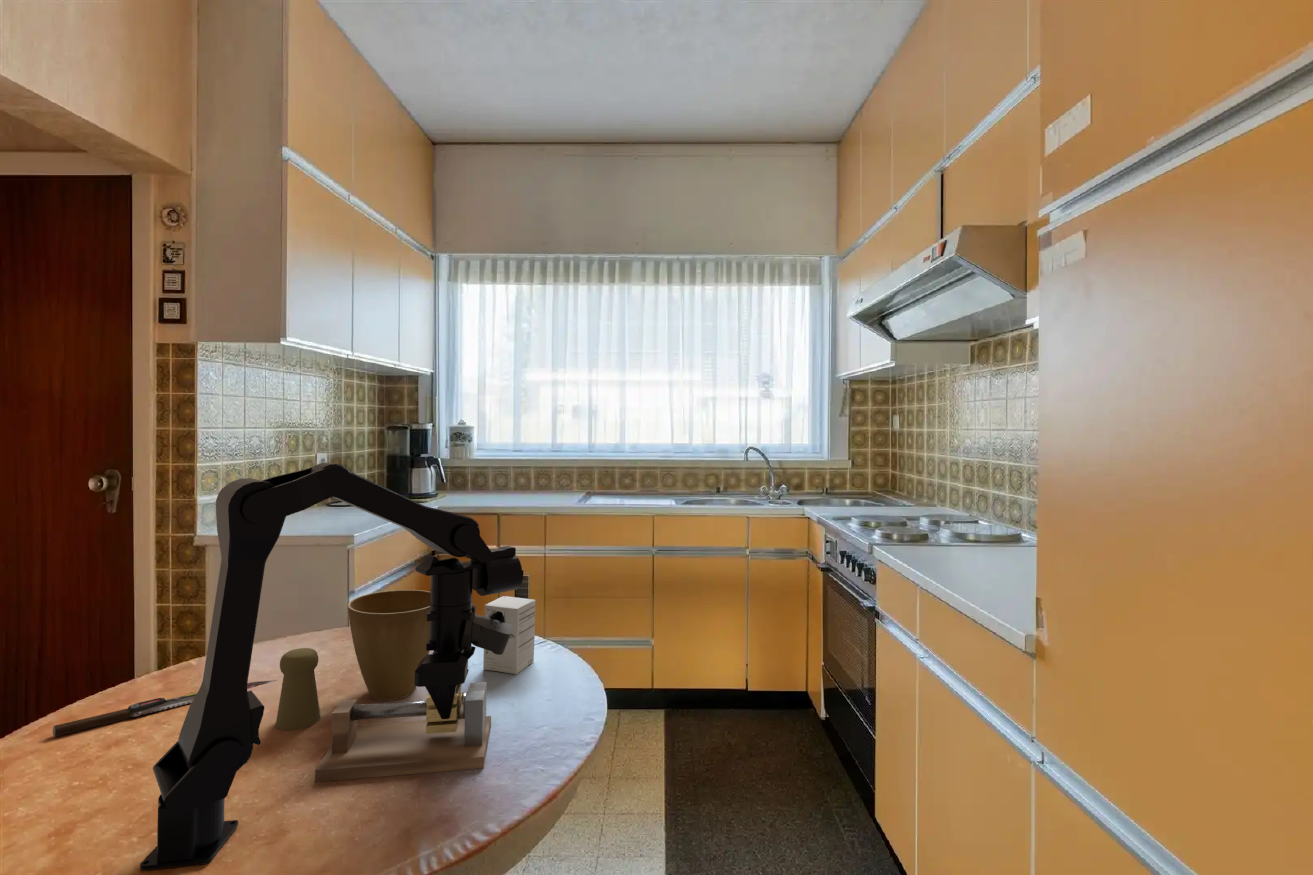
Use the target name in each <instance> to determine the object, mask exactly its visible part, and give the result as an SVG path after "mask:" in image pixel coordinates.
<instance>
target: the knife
mask: <svg viewBox="0 0 1313 875" xmlns="http://www.w3.org/2000/svg"><path fill="white" fill-rule="evenodd" d="M277 681H278V679H276V680H275V679H274V680H273V679H272V680H261V681H253V682H251V681H250V682H247V690H249V689H253V688H257V687H259V685H260V686H263V685H266V684H271V683H273V682H277ZM196 694H197V692H195V693H191V694H186V695H182V696H178V697H173V698H168V699H166V698H165V697H157V698H153V699H149V700H143V701H140V702H137V703H134V704H131V705H129V706H128V707H127V708H124V709H119V710H115V711H112V712H106V713H102V714H98V715H95V716H91V717H85V718H81V719H77V720H73V721H69V722H64V723H59V724H56V725H53V727H52V737H54V738H55V737H59V736H63V735H68V734H73V733H77V732H79V731H84V730H88V729H91V728H96V727H101V726H104V725H108V724H112V723H116V722H121V721H124V720H129V719H130V718H131V719H132V718H135V717H136V718H137V717H140V716H144V715H146V714H151V713H152V714H153V713H154V712H155V713H156V712H159V711H163V710H164V711H165V710H167V709H171V708H176V707H180V706H184V705H187V704H191V703H192V701H193V700H194V698H195V696H196Z"/></svg>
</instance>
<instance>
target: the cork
mask: <svg viewBox="0 0 1313 875" xmlns="http://www.w3.org/2000/svg"><path fill="white" fill-rule="evenodd" d="M318 663H319V655H318V652H317V651H316V649H314V648H309V647H301V648H295V649H291V650H288V651H286V652H284V653H283V655H282V656H281V658H280V661H279V669H280V672H281V673H282V674H283V678H282V684H281V690H280V695H279V702H278V709H277V713H276V714H277V715H276V720H275V728H276V729H277V730H281V731H296V730H301V729H305V728H307V727H308V728H309V727H311V726H314V723H315V724H316V723H317V722H319V721H320V720H321V711H320V703H319V696H318V688H317V681H316V674H315V669H316V668H317V666H318Z"/></svg>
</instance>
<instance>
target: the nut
mask: <svg viewBox="0 0 1313 875" xmlns="http://www.w3.org/2000/svg"><path fill="white" fill-rule="evenodd" d="M460 692H462V684H460V685H457V687H456V692H455V696H454V701H453V704H456V705H453V706H452V711H451V715H450V718H449V719H441V717H440V715H439V713H438V711H437V709H436V707H435V706H433V705H435V704H434V702H433V700H432V698H431V696H430V694H429V693H427V696H426V700H427V705H426V706H428V707H427V710H426V716H425V720H426V722H428V723H427V725H426V734H432V733H446V732H456V731H457V727H458V724H459V720H458V714H457V713H458V704H457V701H458V698H459V694H460Z"/></svg>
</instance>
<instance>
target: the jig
mask: <svg viewBox="0 0 1313 875" xmlns="http://www.w3.org/2000/svg"><path fill="white" fill-rule="evenodd" d="M353 705H358V699H343V700H342V699H341V701H340V702H339V703H338V705H337V706H336V708H335V709H334V710H333V712H332V713H331V746H330V747H329V749H328V750H327V752H326V754H325V755H324V757H323V758H322V760H321V761H320V762H319V764H318V765H317V767H316V769H315V770H314V782H315V783H318V782H320V783H321V782H329V781H330V782H331V781H342V780H353V779H354V780H356V779H367V778H368V779H369V778H380V777H389V776H390V777H391V776H401V775H402V776H404V775H414V774H415V775H416V774H429V773H438V772H439V773H440V772H450V771H452V772H453V771H461V770H462V771H463V770H475V769H484V768H485V762H486V756H487V750H488V746H489V745H488V744H489V739H490V732H491V728H492V716H491V715H486V728H485V734H484V739H483V744H482V746H473V747H464V736H465V719H461V720H459V724H458V727H457V731H456V732H446V733H432V734H426V725H427V723H428V722H426V719H425V720H410V721H396V722H379V723H367V724H365V723H364V724H358V723H357V721H358V720H354V721H351V719H350V714H351V708H352V706H353Z"/></svg>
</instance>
